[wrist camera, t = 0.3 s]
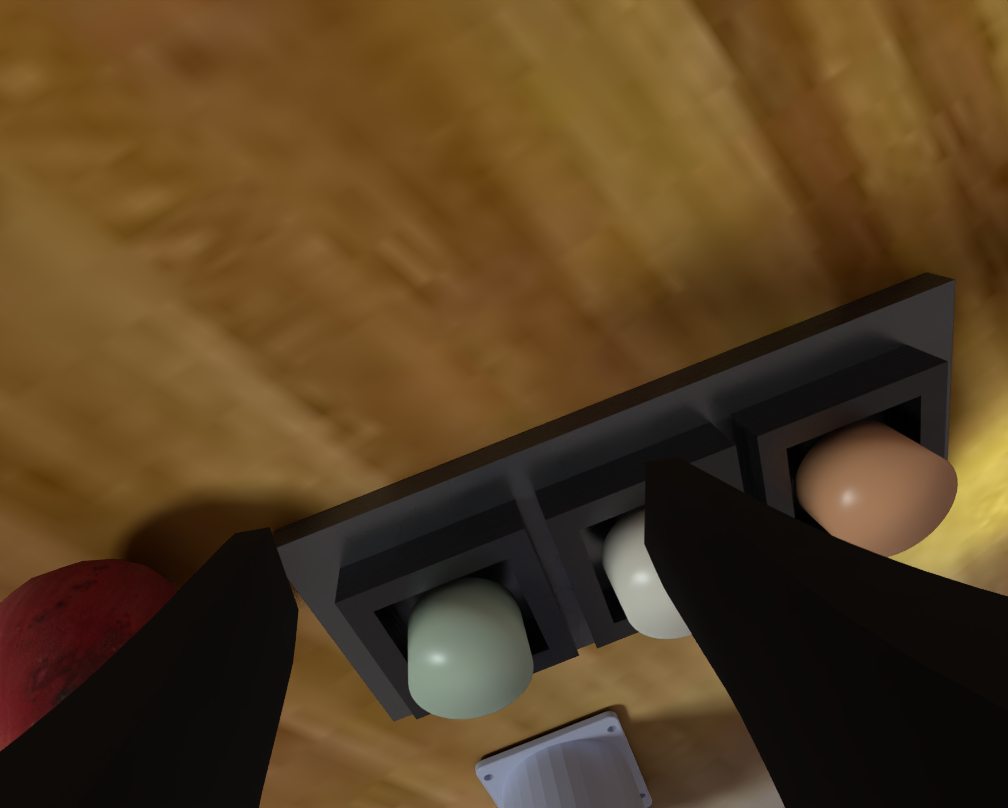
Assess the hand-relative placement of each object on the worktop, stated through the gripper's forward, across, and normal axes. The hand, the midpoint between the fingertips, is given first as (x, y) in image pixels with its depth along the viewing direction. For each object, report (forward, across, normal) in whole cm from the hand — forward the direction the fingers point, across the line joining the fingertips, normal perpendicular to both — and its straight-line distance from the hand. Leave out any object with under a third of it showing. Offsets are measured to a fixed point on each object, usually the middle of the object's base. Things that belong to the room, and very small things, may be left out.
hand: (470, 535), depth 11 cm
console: (+10, -7, +8) cm, 15 cm away
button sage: (+7, +1, +10) cm, 12 cm away
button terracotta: (+7, -15, +6) cm, 18 cm away
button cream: (+7, -7, +8) cm, 13 cm away
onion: (+10, +13, +7) cm, 18 cm away
